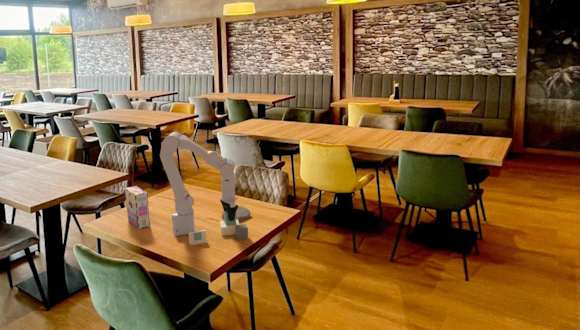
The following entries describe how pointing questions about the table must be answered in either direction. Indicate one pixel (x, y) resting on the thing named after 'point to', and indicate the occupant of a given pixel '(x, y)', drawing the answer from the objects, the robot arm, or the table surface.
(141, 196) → the candy box
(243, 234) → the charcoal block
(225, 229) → the cream base block
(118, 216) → the table surface
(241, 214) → the stone block
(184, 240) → the table surface
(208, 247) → the table surface
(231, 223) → the teal block
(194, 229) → the robot arm
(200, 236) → the placard
